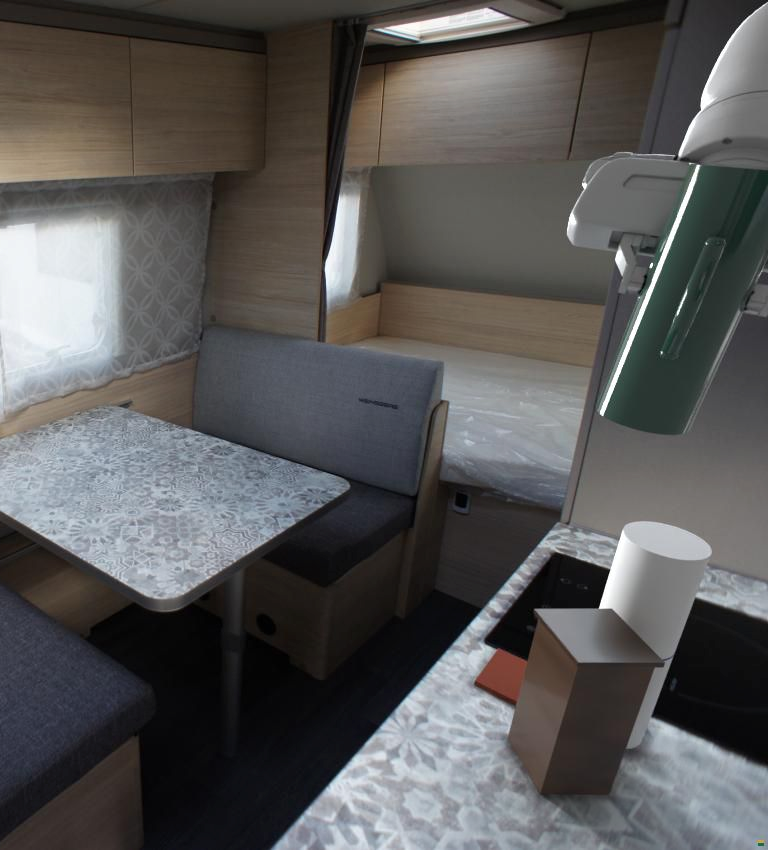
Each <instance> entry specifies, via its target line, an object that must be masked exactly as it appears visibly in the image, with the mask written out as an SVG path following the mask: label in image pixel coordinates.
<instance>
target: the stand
mask: <svg viewBox="0 0 768 850" xmlns="http://www.w3.org/2000/svg"><path fill="white" fill-rule="evenodd" d="M533 615H534V616H535V617H536V618H537V623H536V628H535V631H534V635H533V639H532V642H531V647H530V651H529V654H528V658H527V661H528V662H527V665H526V669H525V673H524V677H523V681H522V685H521V688H520V692H519V696H518V700H517V704H516V705H515V708H514V711H513V716H512V718H511V719H512V720H511V722H510V727H509V731H508V735H507V742H508V743H509V744H510V746H511V748H512V749H513V751H514V752H515V754H516V756H517V758H518V760H519V762H520V763H521V765H522V767H523V768H524V770H525V771H526V773H527V775H528V776H529V778H530V780H531V781H532V782H533V785H534V787H535V788H536V790H537V791H538V793H539V795H551V796H552V795H560V796H561V795H562V796H563V795H564V796H565V795H569V796H571V795H572V796H574V795H575V796H577V795H578V796H579V795H580V796H610V794H611V791H612V789H613V786H614V783H615V782H616V781H615V780H616V779H617V775H618V773H619V769H620V767H621V763H622V761H623V758H624V755H625V753H626V750H627V749H626V747H627V744H628V742H629V739H630V736H631V733H632V730H633V728H634V725H635V722H636V719H637V716H638V714H639V711H640V708H641V705H642V702H643V700H644V697H645V694H646V691H647V688H648V686H649V683H650V680H651V677H652V674H653V672H654V669H655V668H663V667H664V665H665V662H664V661H663V660H662V659H661V658H660V657H659V656H658V655H657V654H656V653H655V652H654V651H653V650H652V649H651V648H650V647H649V646H648V645H647V644H646V643H645V642H644V641H643V640H642V639H641V638H640V637H639V636H638V635H637V634H636V633H635V632H634V630H633V629H632V628H631V627H630V626H629V625H628V624H627V623H626V622H625V621H624V620H623V619H622V618H621V617H620V616H619V615H618V614H617V613H616V612H615V611H614V610H613V609H611V608H605V609H599V608H534V609H533Z"/></svg>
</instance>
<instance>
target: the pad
mask: <svg viewBox="0 0 768 850" xmlns="http://www.w3.org/2000/svg"><path fill="white" fill-rule="evenodd" d="M527 662H528V660H526V659H524V658H521V657H519V656H516V655H515V654H512V653H510V652H508V651H506V650H503V649H501V648H499V647H498V648H497V649H496V651H495V652H494V654H493V655H492V657H491V658H490V659H489V660H488V662H487V663H486V665H485V666H484V667H483V669H482V670H481V672H480V673H479V674H478V675H477V677H476V678H475V680H474V681H473V682H474V683H473V684H474V686H476V687H477V688H480V689H482V690H483V691H486V692H488V693H490V694H492V695H494V696H496V697H498V698H500V699H502V700H503V701H506V702H508V703H509V704H512V705H514V706H516V704H517V700H518V696H519V692H520V688H521V685H522V681H523V677H524V673H525V669H526V665H527Z"/></svg>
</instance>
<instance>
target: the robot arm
mask: <svg viewBox="0 0 768 850" xmlns="http://www.w3.org/2000/svg"><path fill="white" fill-rule="evenodd" d="M700 109H701V110H700V111H699V112H698V113H697V114H696V115H695V117H694V118H693V119H692V121H691V123H690V125H689V126H688V129H687V131H686V134H685V136H684V138H683V139H684V140H683V141H682V144H681V146H680V149H679V151H678V154H676V155H672V154H671V155H670V154H657V153H654V154H652V153H651V154H641V153H640V154H638V153H633V152H629V151H627V152H626V151H624V152H623V151H621V152H619V151H618V152H615V153H614V154H613V155H611V156H605V157H601V158H599V159H596V160H594V161H593V162H592V163H591V164H590V165H589V167H588V168H587V170H586V173H585V176H583V179H582V187H583V190H582V191H581V194H580V195H579V197H578V198H577V201H576V202H575V204H574V207H573V208H572V210H571V213H570V216H569V219H568V224H567V230H566V236H567V238H568V240H569V241H570V243H571V245H573V246H574V247H579V248H584V249H593V250H599V251H600V250H601V251H606V252H607V251H609V252H615V253H616V255H615V260H614V261H615V263H616V266H617V268H618V270H619V273H620V275H621V277H622V279H621V281H620V283H619V288H618V291H617V293H619V294H624V295H631V296H636V297H638V296H639V294H640V291H641V289H642V286H643V284H644V281H645V278H646V275H647V273H648V270H649V267H648V266H641V265H639V264H638V262H637V258H638V256H643V257H644V256H645V257H652V258H653V257H654V254H655V251H656V249H657V246H658V243H659V241H660V238H661V236H662V233H663V230H664V228H665V225H666V222H667V220H668V217H669V215H670V212H671V209H672V207H673V204H674V201H675V199H676V196H677V194H678V191H679V188H680V186H681V183H682V181H683V178H684V175H685V173H686V170H687V167H688V165H689V163H716V164H733V165H747V166H761V167H768V2H766V3H765V4H763V5H761V6H760V7H759V8H758V9H756V10H755V11H754V12H753V13H752V14H750V15H749V16H748V17H747V18H745V20H743V22H742V23H741V24H740V25H739V26H738V28H736V30H735V31H734V33H732V35H731V37H730V38H729V40H728V41H727V43H726V45H724V48H723V49H722V51H721V52H720V55H719V56H718V58H717V61H716V62H715V64H714V66H713V68H712V70H711V73H710V74H709V77H708V79H707V82H706V84H705V86H704V89H703V92H702V94H701V100H700ZM761 273H768V259H767V261H766V263H765V266H764V268H763V270H762V272H761ZM743 314H746V315H750V316H751V315H752V316H756V317H757V316H758V317H764V318H767V317H768V284H767V283H760V282H757V283H756V285H755V287H754V290H753V292H752V294H751V296H750V298H749V300H748V302H747V304H746V307H745V309H744V312H743Z"/></svg>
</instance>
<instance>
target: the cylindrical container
mask: <svg viewBox="0 0 768 850" xmlns="http://www.w3.org/2000/svg"><path fill="white" fill-rule="evenodd" d="M712 553H713V550H712V548H711V546H710V544H709V543H708V542H707V541H706V540H704V539H703V538H701V537H700V536H699V535H697V534H695V533H692V532H690V531H688V530H686V529H683V528H680V527H678V526H674V525H671V524H666V523H663V522H658V521H657V522H656V521H650V520H649V521H648V520H645V521H644V520H641V521H640V520H638V521H633V522H629V523H626V524H625V525H624V526H623V528H622V531H621V534H620V538H619V541H618V545H617V547H616V551H615V554H614V558H613V560H612V564H611V567H610V571H609V574H608V577H607V580H606V584H605V587H604V591H603V594H602V597H601V600H600V604H599V607H598V609H605V608H611V609H613V610H614V611H615V612H616V613H617V614H618V615H619V616H620V617H621V618H622V619H623V620H624V621H625V622H626V623H627V624H628V625H629V626H630V627H631V628H632V629H633V630H634V632H635V633H636V634H637V635H638V636H639V637H640V638H641V639H642V640H643V641H644V642H645V643H646V644H647V645H648V646H649V647H650V648H651V649H652V650H653V651H654V652H655V653H656V654H657V655H658V656H659V657H660V658H661V659H662V660H663V661H664V662H665V665H664V667H663V668H655V669H654V672H653V674H652V677H651V680H650V683H649V686H648V688H647V691H646V694H645V697H644V700H643V702H642V705H641V708H640V711H639V714H638V716H637V719H636V722H635V725H634V728H633V730H632V733H631V736H630V739H629V742H628V744H627V747H626V750H630V749H634V748H637V747H639V746H640V745H641V744H642V742H643V741H644V740H643V739H644V737H645V734H646V731H647V728H648V727H649V724H650V721H651V719H652V715H653V713H654V710H655V707H656V705H657V702H658V699H659V697H660V693H661V691H662V688H663V686H664V683H665V680H666V678H667V674H668V672H669V669H670V667H671V664H672V661H673V658H674V656H675V654H676V651H677V649H678V645H679V642H680V641H681V640H680V639H681V637H682V635H683V631H684V629H685V626H686V623H687V620H688V618H689V615H690V613H691V610H692V607H693V604H694V602H695V599H696V596H697V594H698V592H699V588H700V586H701V583H702V580H703V577H704V575H705V572H706V569H707V566H708V564H709V562H710V559H711V556H712Z"/></svg>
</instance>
